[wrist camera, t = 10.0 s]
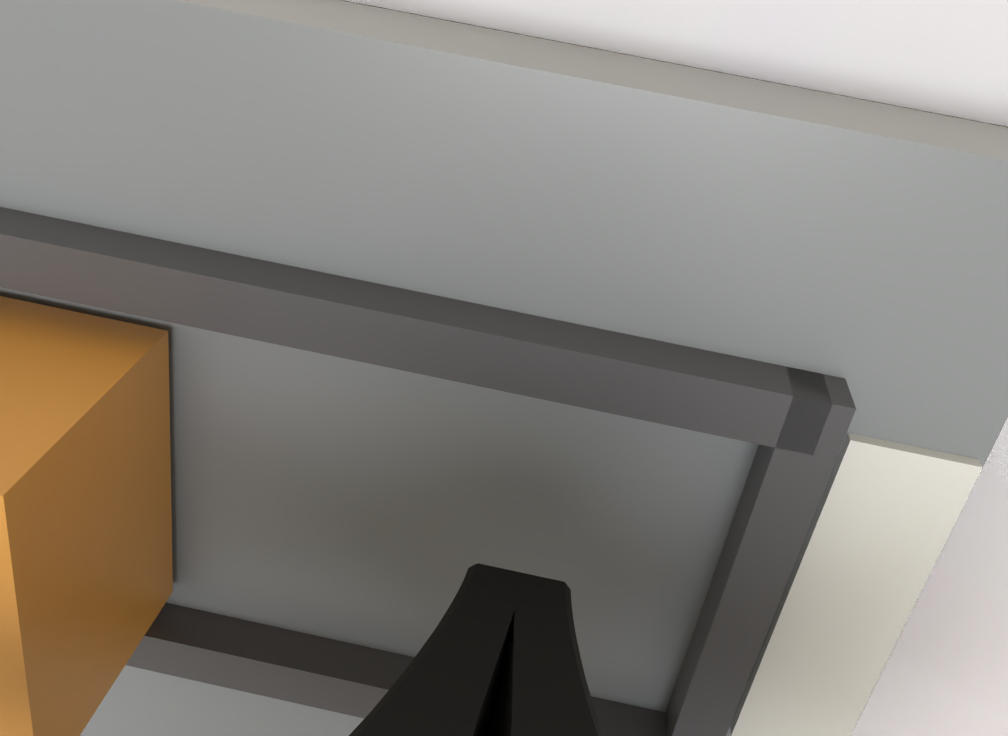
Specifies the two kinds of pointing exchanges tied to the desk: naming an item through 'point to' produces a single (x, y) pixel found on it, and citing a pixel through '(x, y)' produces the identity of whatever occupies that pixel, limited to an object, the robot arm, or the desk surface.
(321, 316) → the breaker panel
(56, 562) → the lever
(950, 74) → the desk surface
